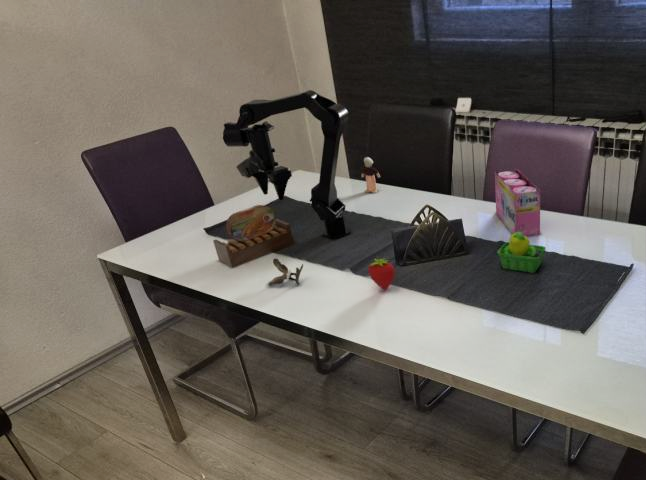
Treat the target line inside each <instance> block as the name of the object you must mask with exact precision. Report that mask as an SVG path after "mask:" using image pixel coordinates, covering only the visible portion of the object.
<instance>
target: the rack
mask: <svg viewBox="0 0 646 480" xmlns="http://www.w3.org/2000/svg"><path fill="white" fill-rule="evenodd" d="M212 242H213V245H214V248H215V251H216V255H217V258H218V261H219V262H221V263H223V264H225V265H226V266H228V267H230V268H232V269H233V268H235V267H237V266H240V265H243V264H245V263H248V262H250V261H254V260H256V259H258V258H261V257H264V256H266V255H270V254H271V253H273V252H276V251H279V250H281V249H284V248H287V247H290V246H291V245H294V244H295V241H294V237H293V233H292V229H291V225H290V223H288V222H286V221H283V220H281V219H278V218H276V224H275V226H274V228H273V229H272V230H271V231H270V232H269V233H266V234H263V235H261V236H258V237H255V238H253V239H250V240H248V241H238V240H236V239H234V238H231V239H228V240H227V243H226V242H225V241H220V240H218V239H213V240H212Z"/></svg>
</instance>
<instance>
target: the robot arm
mask: <svg viewBox="0 0 646 480" xmlns="http://www.w3.org/2000/svg"><path fill="white" fill-rule="evenodd" d="M304 108H305V109H306V110H308V112H309V113H310V114H311V115H312V116H313V117H314V118H315V119H317V120H318V121H319V122H320V128H321V132H322V135H323V146H322V154H321V155H322V156H321V161H320V163H321V164H320V171H319V181H318V183H317V184H316V185H314V186H313V187H312V188H311V189H310V194H311V195H310V199H309V203H310V202H311V209H313V210H314V212H316V215H317V216H318V218H319V219H320V221H323V222H324V226H325V227H324V228H325V232H323V233H322V236H324V237H327V238H329V239H332V240H337V239H339V238H342V237H345V236H347V235H350V234H351V231H350V230H347V229H346V224H345V218H344V215H343V213H344V212H345V211H346V208H347V207H346V203H344V202H343V201H342V200H341V199H339V197H338V190H337V187H336V183H335V182H336V176H337V175H336V174H337V167H338V159H339V152H340V143H341V138H342V136H343V134H344V132H345V129H346V127H347V124H348V121H349V115H350V114H349V110H347V107H345V106H344V105H343V104H341V103H336V102H335V101H334V100H332V99H330V98H328V97H326V96H323V95H320V94H319V93H317V92H316V91H314V90H311V89H309V90H306V91H304V92H300V93H296V94H292V95H288V96H283V97H278V98H275V99H253V100H251V101H248V102H246V103H243V104H241V105H240V106H239V109H238V111H239V112H238V113H239V116H238V119H237V121H236V122H230V121H228V122H225V123H223V131H222V140H223V143H224V145H225V146H226V147H228V148H230V147H231V148H235V147H237V148H238V147H239V148H240V147H241V148H243V147H246V148H247V147H249V145H250V148H251V149H250V150H249V152H248V154H249V157H247V158H246V159H244V160H242V161H241V162H240V163H239V164H238V165H237V166H236V169H237V171H238V172H239V173H240V175H241V177H243V178H246V179H250V178H253V179H254V180H255V181H256V183H257V185H258V186H259V188H260V190H261V192H262V194H263V195H264V196H265V195H268V193H269V183H271V184H272V185H273V187H274V190H275V193H276V195H277V198H278V201H283V200H284V197H285V193H286V189H287V187H288V183H289V180H290V179H291V178H292V177H293V173H292V170H291V168H289V167H287V166H284V165H279V162H278V161H275V156H274V153H276V149H275V148H274V147H272V144H271V139H270V135H269V132H270V131H272V130H274V129H275V126H274V125H272V124H270V123H269V122H268V121H264V122H262V121H263V120H266V119H267V118H269V117H271V116H274V115H275V116H276V115H279V114H284V113H288V112H291V111H296V110H300V109H304ZM259 122H262V123H260V124H259ZM249 126H252V127H249Z"/></svg>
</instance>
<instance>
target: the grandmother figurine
mask: <svg viewBox="0 0 646 480" xmlns="http://www.w3.org/2000/svg"><path fill="white" fill-rule="evenodd" d="M363 162H364V167H363V169H362V171H361V175H360V176H361V178H365V183H366V189H365V192H364V193H371V194H376V193H377V192H378V189H377V182H376V181H377V180H376V177H375V176H377V178H378V179H379V178H381V175H380V172H379V171H378V169H376V168H374V167H373V164H374V161H373V159H372V158H370V157H369V156H367V157H364V158H363Z"/></svg>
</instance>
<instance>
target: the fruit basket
mask: <svg viewBox="0 0 646 480" xmlns="http://www.w3.org/2000/svg"><path fill="white" fill-rule="evenodd" d="M546 249H547V248H546V246H544V245H535V244H530V239H529V238H528V236H524V235H523V234H522V233H521V232H516V233H514V234H512V233H511V235H510V237H509V241H507V242H505V243H504V244H503V245H502V246H501V247H500V248H499V249H498V250H497V252H496V253H497V256H498V258H499V260H500V264H501V266H502V269H503V270H510V271H519V272H525V273H531V274H535V272H536V271H537V270H538V269H539V268H540V266H541V263H542V260H543V257H544V253H545V251H546Z"/></svg>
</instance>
